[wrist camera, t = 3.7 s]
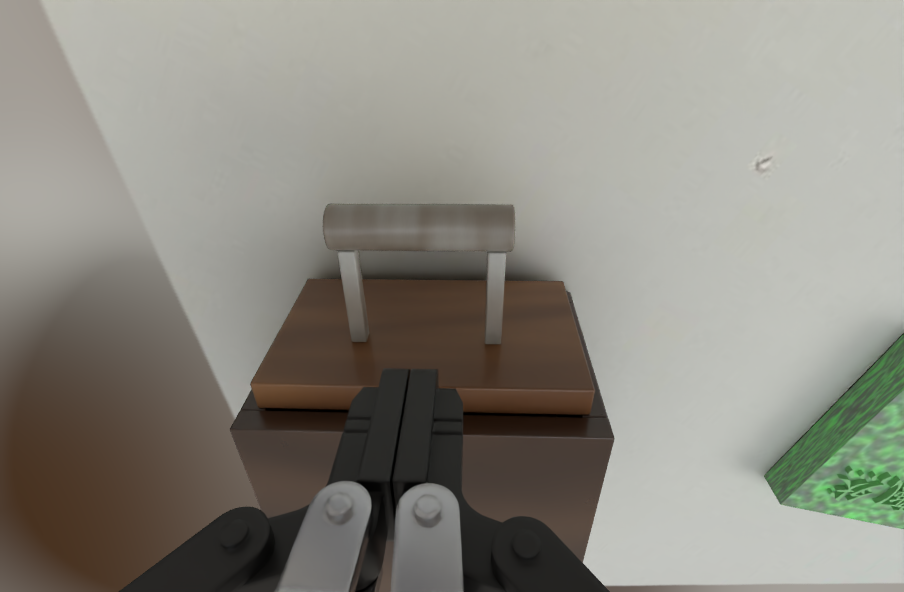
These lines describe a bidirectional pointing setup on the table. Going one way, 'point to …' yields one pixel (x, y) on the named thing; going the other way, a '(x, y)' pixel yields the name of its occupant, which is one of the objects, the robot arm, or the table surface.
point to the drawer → (428, 321)
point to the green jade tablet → (853, 452)
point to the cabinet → (483, 471)
